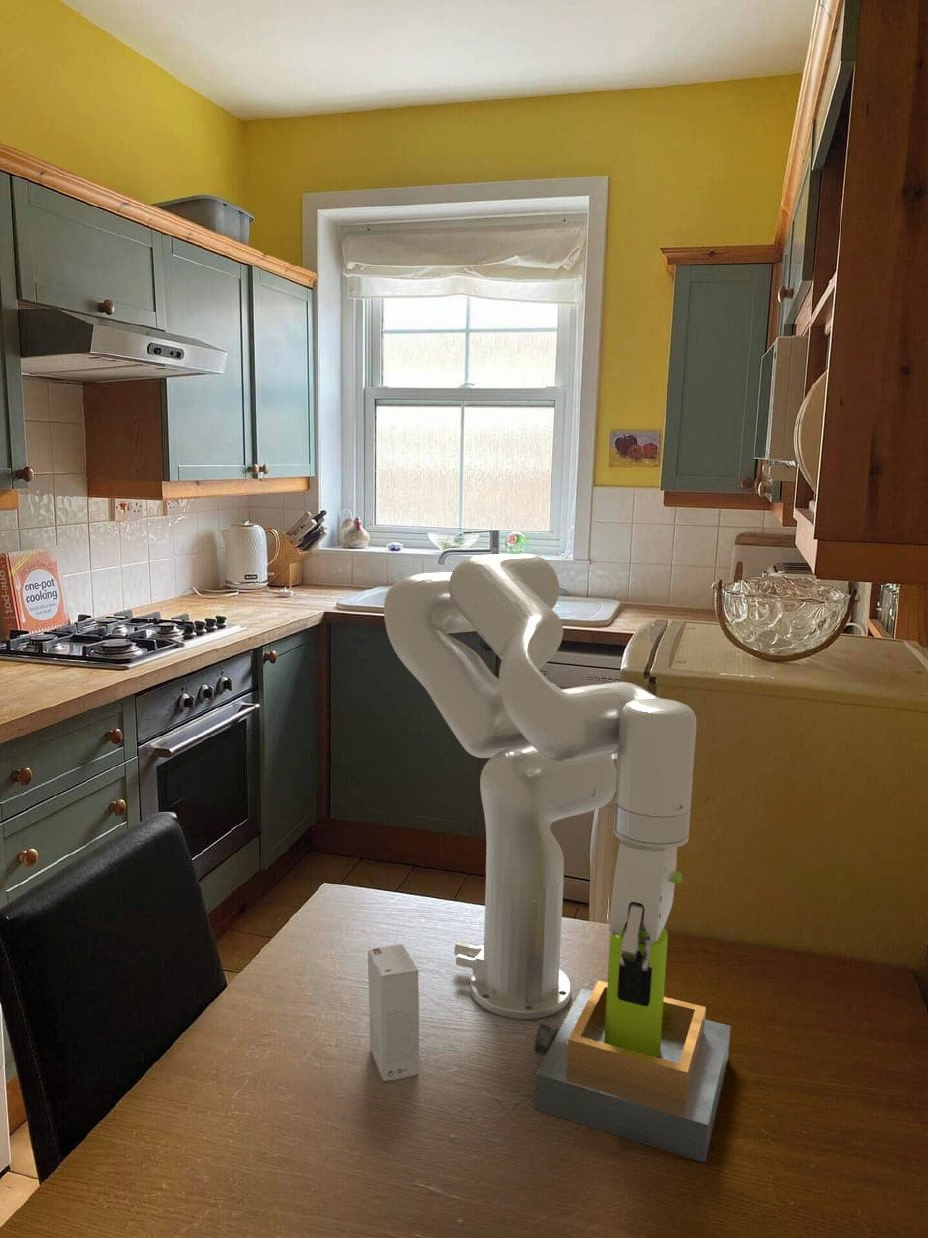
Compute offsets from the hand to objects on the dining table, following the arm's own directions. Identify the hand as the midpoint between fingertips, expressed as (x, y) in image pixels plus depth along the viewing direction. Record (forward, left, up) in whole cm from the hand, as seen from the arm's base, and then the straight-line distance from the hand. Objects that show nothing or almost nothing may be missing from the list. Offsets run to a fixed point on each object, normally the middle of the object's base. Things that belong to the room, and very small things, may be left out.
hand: (641, 982), depth 93 cm
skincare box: (-25, -8, -12) cm, 29 cm away
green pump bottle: (0, 0, -8) cm, 8 cm away
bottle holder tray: (-1, 0, -12) cm, 12 cm away
